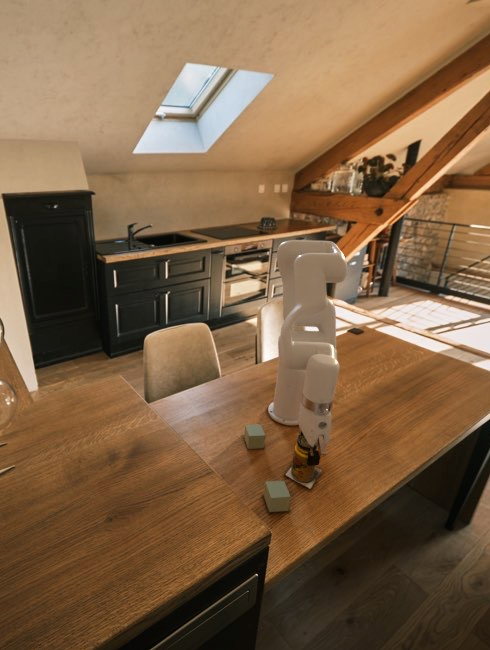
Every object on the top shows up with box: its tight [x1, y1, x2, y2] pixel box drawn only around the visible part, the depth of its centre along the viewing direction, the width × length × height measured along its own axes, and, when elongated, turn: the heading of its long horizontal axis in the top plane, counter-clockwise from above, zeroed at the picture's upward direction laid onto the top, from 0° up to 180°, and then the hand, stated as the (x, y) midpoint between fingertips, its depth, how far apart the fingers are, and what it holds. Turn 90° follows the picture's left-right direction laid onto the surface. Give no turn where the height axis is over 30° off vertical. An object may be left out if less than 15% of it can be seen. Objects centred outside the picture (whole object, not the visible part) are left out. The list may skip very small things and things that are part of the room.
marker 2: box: [263, 480, 292, 513], centre depth 98 cm, size 5×5×5 cm
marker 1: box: [243, 423, 266, 450], centre depth 118 cm, size 5×5×5 cm
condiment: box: [285, 436, 323, 489], centre depth 106 cm, size 7×8×12 cm
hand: (307, 454), depth 105 cm, fingers closed on condiment, 6 cm apart
